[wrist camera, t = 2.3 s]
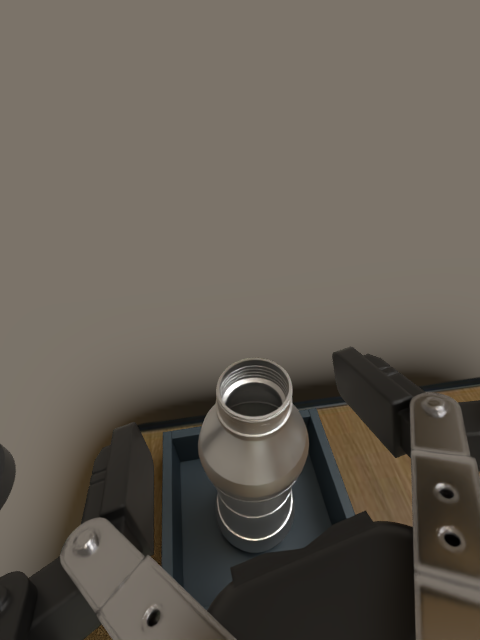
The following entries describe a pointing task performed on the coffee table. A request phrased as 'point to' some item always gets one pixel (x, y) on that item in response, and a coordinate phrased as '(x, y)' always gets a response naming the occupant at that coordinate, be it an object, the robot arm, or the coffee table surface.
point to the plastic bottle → (254, 453)
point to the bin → (200, 516)
